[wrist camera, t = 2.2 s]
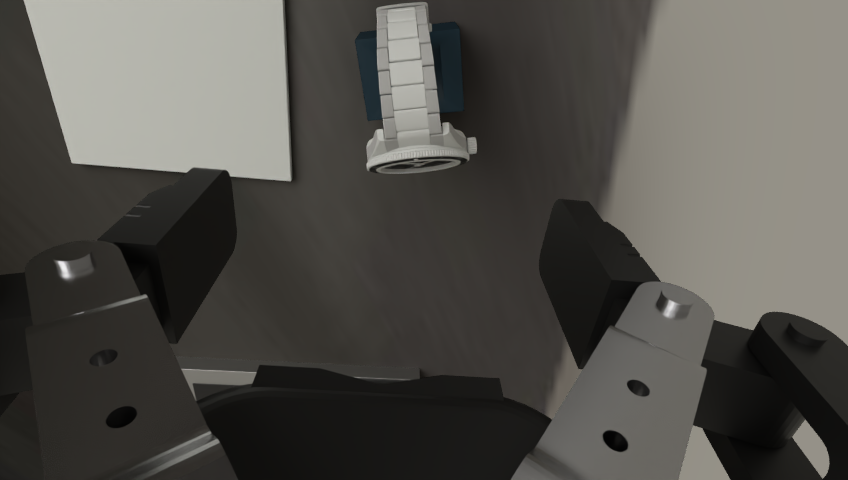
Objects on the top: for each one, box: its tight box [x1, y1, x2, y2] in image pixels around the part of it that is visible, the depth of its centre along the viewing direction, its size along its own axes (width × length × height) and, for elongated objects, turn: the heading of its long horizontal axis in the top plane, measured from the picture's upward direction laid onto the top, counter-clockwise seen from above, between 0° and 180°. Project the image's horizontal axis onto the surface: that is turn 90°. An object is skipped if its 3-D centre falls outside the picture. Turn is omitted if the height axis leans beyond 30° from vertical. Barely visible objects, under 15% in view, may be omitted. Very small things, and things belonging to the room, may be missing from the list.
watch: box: [355, 2, 477, 174], centre depth 24 cm, size 6×8×11 cm
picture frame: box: [176, 356, 420, 401], centre depth 44 cm, size 16×3×21 cm
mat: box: [24, 0, 292, 181], centre depth 27 cm, size 18×14×1 cm
